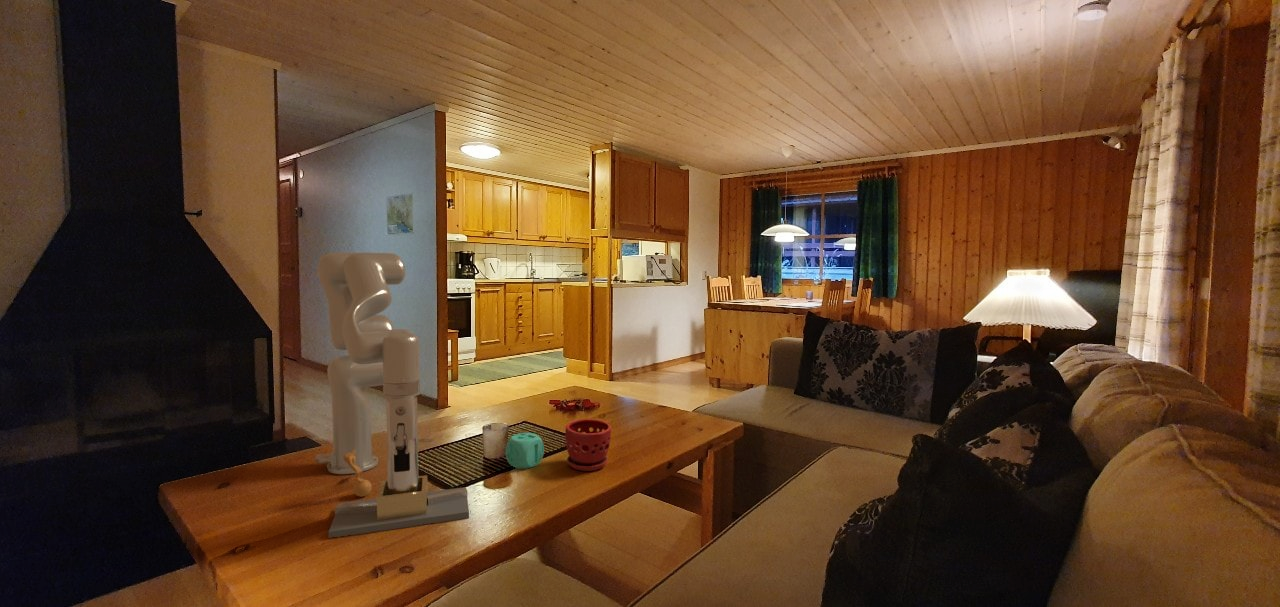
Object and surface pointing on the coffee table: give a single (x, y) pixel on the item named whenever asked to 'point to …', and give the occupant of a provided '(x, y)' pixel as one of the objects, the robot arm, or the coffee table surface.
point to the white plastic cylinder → (409, 479)
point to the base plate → (369, 523)
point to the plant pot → (587, 444)
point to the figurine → (357, 476)
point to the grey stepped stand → (401, 502)
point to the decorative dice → (524, 450)
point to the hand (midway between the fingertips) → (402, 465)
